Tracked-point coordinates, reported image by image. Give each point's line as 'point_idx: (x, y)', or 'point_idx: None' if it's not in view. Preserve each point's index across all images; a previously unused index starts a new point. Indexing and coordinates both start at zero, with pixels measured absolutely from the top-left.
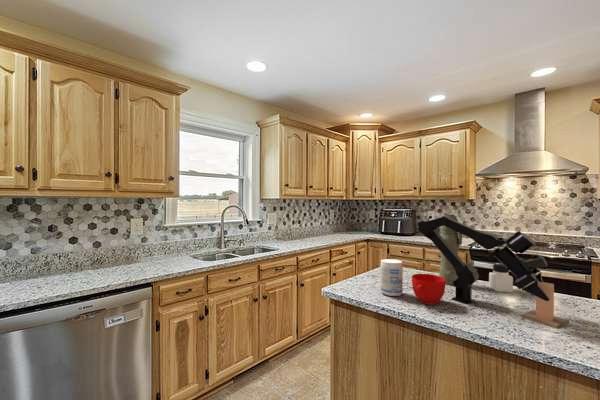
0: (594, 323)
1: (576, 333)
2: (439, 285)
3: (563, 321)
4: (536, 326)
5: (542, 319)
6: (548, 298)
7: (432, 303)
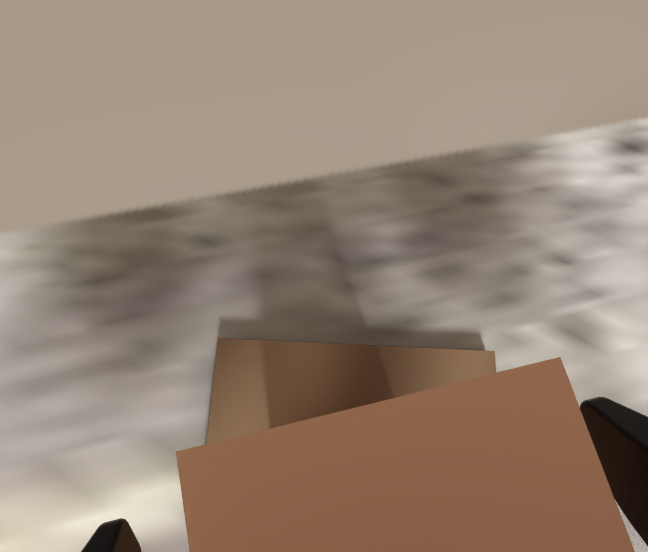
0: (75, 220)
1: (449, 242)
2: None
3: (313, 352)
4: None
5: None
6: (623, 407)
7: None
